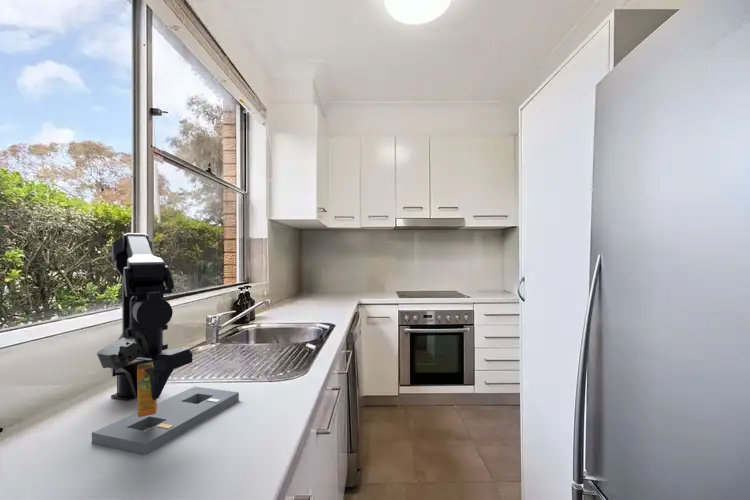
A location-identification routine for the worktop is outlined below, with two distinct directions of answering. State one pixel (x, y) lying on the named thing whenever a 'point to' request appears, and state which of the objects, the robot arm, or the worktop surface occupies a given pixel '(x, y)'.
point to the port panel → (164, 420)
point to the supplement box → (145, 391)
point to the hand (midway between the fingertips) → (146, 397)
